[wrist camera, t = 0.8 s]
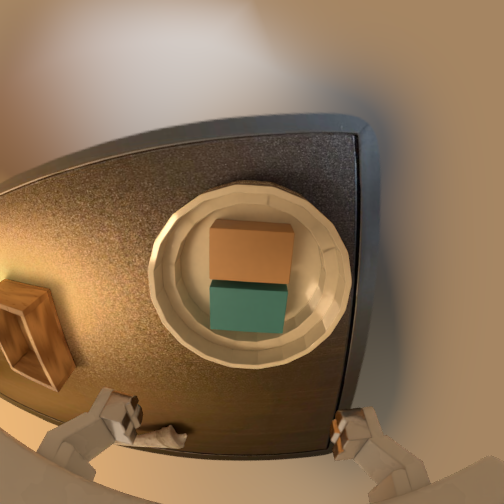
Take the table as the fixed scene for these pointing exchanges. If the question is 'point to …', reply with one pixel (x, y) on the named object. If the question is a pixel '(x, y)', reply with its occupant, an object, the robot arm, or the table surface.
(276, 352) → the bowl
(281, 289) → the teal rectangular block
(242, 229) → the tan rectangular block
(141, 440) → the seashell
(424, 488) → the robot arm
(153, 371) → the table surface
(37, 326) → the holder
